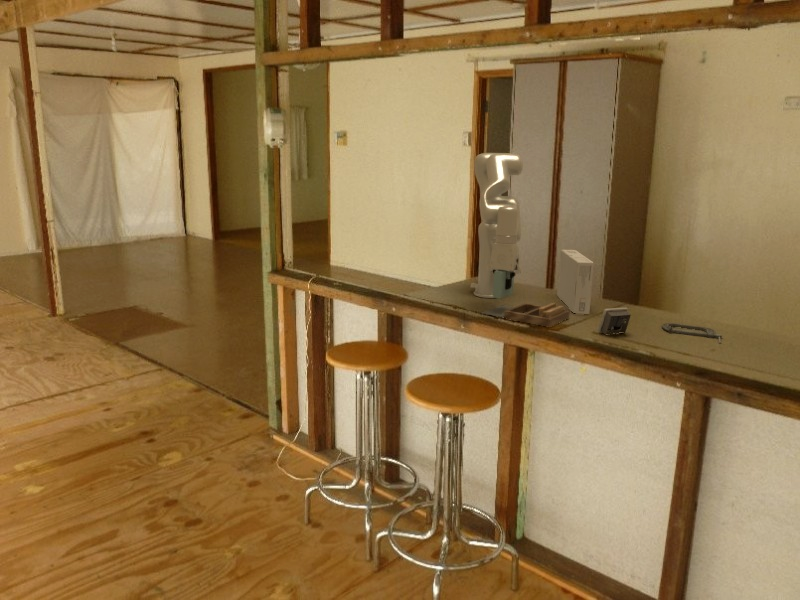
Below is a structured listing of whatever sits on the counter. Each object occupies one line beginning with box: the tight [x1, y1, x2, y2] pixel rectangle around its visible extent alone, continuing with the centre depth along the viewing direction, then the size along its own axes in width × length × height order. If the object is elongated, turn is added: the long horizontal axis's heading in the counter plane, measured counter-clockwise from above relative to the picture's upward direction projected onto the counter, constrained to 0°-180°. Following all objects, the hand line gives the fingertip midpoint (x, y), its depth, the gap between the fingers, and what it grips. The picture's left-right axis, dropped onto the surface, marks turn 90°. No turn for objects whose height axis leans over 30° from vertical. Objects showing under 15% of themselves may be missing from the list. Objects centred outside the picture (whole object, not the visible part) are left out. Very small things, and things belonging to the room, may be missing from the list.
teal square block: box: [492, 270, 515, 300], centre depth 253 cm, size 3×10×10 cm, turn 143°
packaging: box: [556, 249, 595, 315], centre depth 268 cm, size 30×6×20 cm, turn 179°
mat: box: [480, 304, 515, 318], centre depth 256 cm, size 9×16×1 cm, turn 143°
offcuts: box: [539, 302, 565, 318], centre depth 244 cm, size 5×12×6 cm, turn 143°
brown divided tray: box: [503, 302, 571, 328], centre depth 247 cm, size 18×16×3 cm
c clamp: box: [661, 322, 723, 345], centre depth 233 cm, size 20×17×3 cm
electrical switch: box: [597, 307, 632, 336], centre depth 229 cm, size 9×5×9 cm, turn 108°
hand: (503, 287), depth 253 cm, fingers closed on teal square block, 3 cm apart
